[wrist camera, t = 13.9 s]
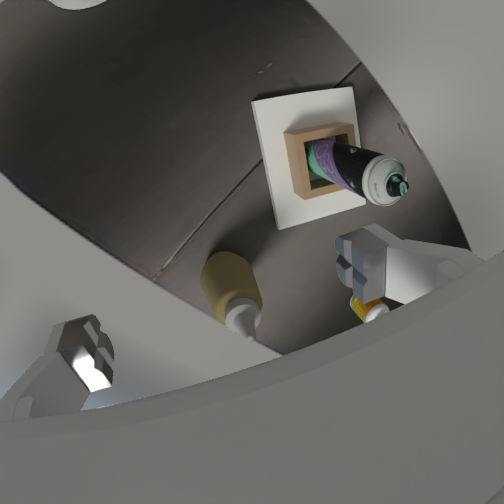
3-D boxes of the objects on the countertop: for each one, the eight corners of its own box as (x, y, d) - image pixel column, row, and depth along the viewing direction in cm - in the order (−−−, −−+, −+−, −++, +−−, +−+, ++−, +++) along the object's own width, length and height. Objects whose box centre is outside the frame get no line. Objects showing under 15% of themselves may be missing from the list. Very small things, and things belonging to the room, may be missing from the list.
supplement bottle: (345, 299, 62) (370, 328, 54) (365, 282, 62) (392, 308, 53) (355, 313, 65) (379, 341, 56) (374, 296, 64) (400, 322, 56)
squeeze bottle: (235, 293, 55) (266, 366, 39) (190, 281, 51) (206, 357, 36) (254, 251, 52) (295, 316, 37) (208, 237, 49) (232, 302, 33)
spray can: (309, 130, 44) (397, 151, 27) (337, 147, 47) (429, 177, 29) (294, 163, 46) (373, 202, 29) (322, 177, 48) (406, 222, 31)
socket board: (251, 101, 42) (262, 100, 37) (347, 87, 44) (366, 86, 39) (276, 226, 51) (288, 240, 47) (361, 201, 54) (379, 211, 49)
